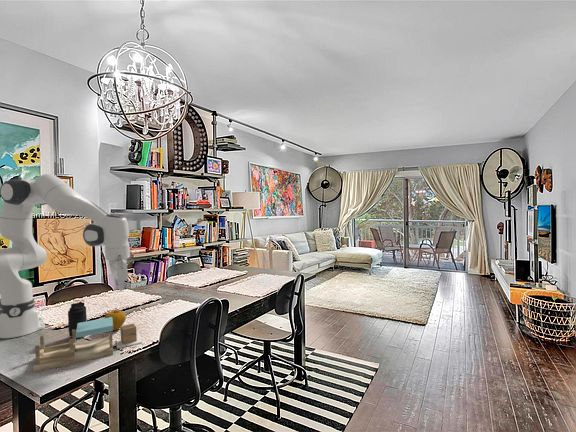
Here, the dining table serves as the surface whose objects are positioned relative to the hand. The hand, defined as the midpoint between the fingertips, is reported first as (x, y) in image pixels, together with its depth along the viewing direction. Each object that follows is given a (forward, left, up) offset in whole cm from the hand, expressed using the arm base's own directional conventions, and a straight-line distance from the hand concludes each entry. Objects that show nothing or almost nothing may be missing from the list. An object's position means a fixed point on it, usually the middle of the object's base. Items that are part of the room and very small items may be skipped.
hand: (119, 287), depth 131 cm
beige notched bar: (+2, -16, -23) cm, 28 cm away
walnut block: (0, +2, -23) cm, 23 cm away
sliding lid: (+2, -9, -15) cm, 17 cm away
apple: (-18, -2, -23) cm, 30 cm away
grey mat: (0, +2, -23) cm, 23 cm away
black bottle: (-19, -16, -23) cm, 34 cm away
